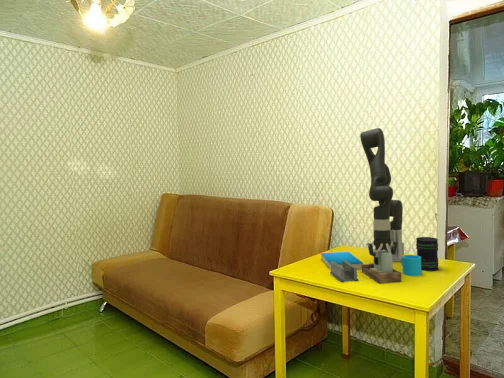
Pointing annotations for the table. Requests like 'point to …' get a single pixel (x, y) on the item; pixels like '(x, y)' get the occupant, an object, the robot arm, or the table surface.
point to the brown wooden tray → (381, 274)
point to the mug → (411, 265)
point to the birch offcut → (375, 270)
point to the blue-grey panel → (384, 262)
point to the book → (341, 259)
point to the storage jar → (427, 253)
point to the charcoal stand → (344, 271)
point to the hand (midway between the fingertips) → (382, 264)
